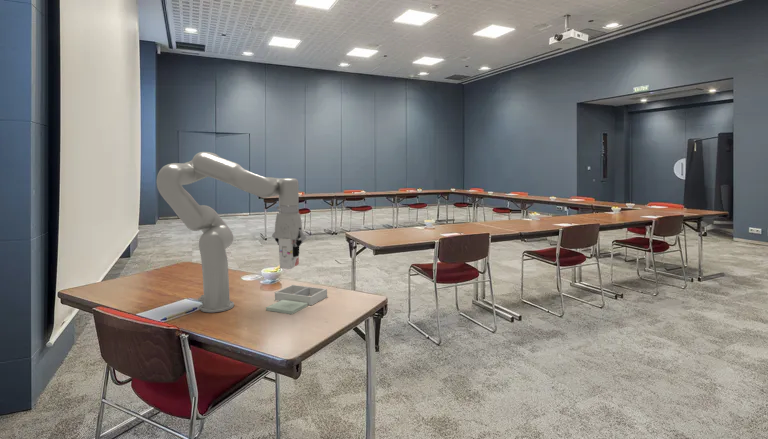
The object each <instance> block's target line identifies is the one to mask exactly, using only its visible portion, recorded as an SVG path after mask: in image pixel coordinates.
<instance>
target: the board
mask: <svg viewBox="0 0 768 439" xmlns="http://www.w3.org/2000/svg"><path fill="white" fill-rule="evenodd" d="M307 307H308V305H307V303H302V302H295V301H288V300H281V301H277V302H275V303H272V304H270V305H268V306H267V307H265V308H266V309H265V310H266V311H269V312H276V313H282V314H287V315H288V314H289V315H293V314H295V313H297V312H298V311H301V310H302V309H304V308H307Z"/></svg>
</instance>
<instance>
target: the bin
mask: <svg viewBox="0 0 768 439" xmlns="http://www.w3.org/2000/svg"><path fill="white" fill-rule="evenodd" d="M327 298H328V288H321V287H313V286H304V285H297V284H291V285H288V286H286V287H284V288H281V289H279V290H277V291H275V292H274V301H277V302H279V301H281V300H288V301H295V302H302V303H307V306H313V305H315V304H316V303H318V302H320V301H322V300H324V299H327Z"/></svg>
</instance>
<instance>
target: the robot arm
mask: <svg viewBox="0 0 768 439" xmlns="http://www.w3.org/2000/svg"><path fill="white" fill-rule="evenodd" d="M206 178H212V179H214V180H218V181H220V182H223V183H225V184H228V185H230V186H232V187H235V188H236V189H238V190H241V191H244V192H245V193H249V194H251V195H254V196H257V197H260V198H263V199H265V198H270V197H275V196H276V197H277V196H278V205H277V206H276V210H277V211H278V213H276V216H275V223H274V232H273V233H272V235H271V237H272V238H273V239H274V240H275V242H276V243H277V245H278V246H279V239H280V238H286V239H290V231H291V239H292V240H293V243H294V247H293V257H296V256H300V246H301V245H302V244H303V243H304V242H305V241H306V240H307V236H306V234H304V232H303V224H302V216H301V213H300V211H299V208H300V207H299V199H300V198H299V197H300V196H299V193H300V192H299V189H300V188H299V181H298V179H297V178H294V177H293V178H292V177H289V178H288V177H284V178H283V177H282V178H280V177H279V178H278V177H274V176H273V177H272V176H270V177H268V176H267V177H265V176H262V175H259V174H256V173H253V171H252V172H251V171H249V170H247V169H245V168H243V167H242V166H241V164H240V163H237V162H235V161H231V160H229V159H225V158H223V157H221V156H219V155H218V154H216V153H215V152H214V153H213V152H209V151H200V152H197V153H196V154H195V155H193V158H192V159H191V160H190V161H186V162H183V163H182V162H181V163H178V162H173V163H172V162H171V163H168V164H166V165H163V166H162V167H161V168H160V169H159V171H158V173H157V176H156V187H157V191H158V193H159V194H160V196H161V197H162V198H163V199H164V201H165V202H166V203H167V205H169V207H170V208H171V209H172V210H173V212H174V213H175V214H176V215H177V217H178V218H179V219H180V221H181V223H183V224H184V226H185V227H187V229H189V230H190V231H192V232H200V231H201V232H202V234H201V236H200V238H198V239H199V240H198V248H199V249H198V250H199V253H200V260H201V271H202V287H203V294H202V295H200V297H198V300H197V301H198V302H202V304H201V305H200V307H199V310H200V311H201V312H203V313H209V314H211V313H220V312H225V311H229V310H232V309H233V308H234V306H235V303H234V301H232V300H231V297H230V278H229V262H228V261H229V260H228V256H227V251H226V249H227V248H229V247H230V246H231V245H232V243H233V241H234V234H233V232H232V230H231V228H230V227H229V226H228V225H227V223H226V222H225V221H224V219H223V218H222V217H221V216H220V215H219V213H217V211H216V210H215V209H214V208H212V207H210V206H209V205H206V204H201V205H200V204H199V203H198V202H197V201H196V200H195V199H194V197H193V196H192V194H190V193H189V192H188V191H187V190H186V189H185V188H184V185H185V186H186V185H187V186H188V185H191V184H193V183H196V182H198V181H200V180H204V179H206Z"/></svg>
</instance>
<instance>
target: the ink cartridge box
mask: <svg viewBox="0 0 768 439" xmlns="http://www.w3.org/2000/svg"><path fill="white" fill-rule="evenodd" d="M293 247H294V243H293V240H292V239H291V231H290V239H286V238H280V239H279V245H278V253H279V257H278V258H279V269H287V270H291V269H293V268H294V267H296V266H298V265H300V262H299V261H300V259H299V256H300V255H299V256H296V257H293Z"/></svg>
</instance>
